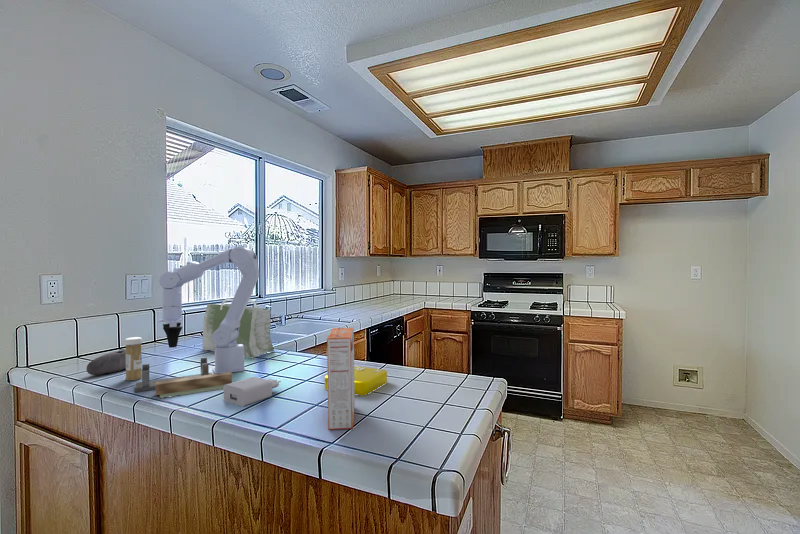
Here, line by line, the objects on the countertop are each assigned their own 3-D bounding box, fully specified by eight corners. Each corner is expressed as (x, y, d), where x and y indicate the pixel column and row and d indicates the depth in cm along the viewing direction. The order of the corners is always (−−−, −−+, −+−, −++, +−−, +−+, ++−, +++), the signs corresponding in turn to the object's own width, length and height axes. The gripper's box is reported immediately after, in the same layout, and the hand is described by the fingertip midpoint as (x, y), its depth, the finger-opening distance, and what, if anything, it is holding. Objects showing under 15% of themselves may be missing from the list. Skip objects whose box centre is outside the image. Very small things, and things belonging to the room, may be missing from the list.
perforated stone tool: (90, 379, 126) (90, 357, 126) (81, 377, 128) (81, 356, 128) (138, 368, 139) (138, 348, 139) (129, 366, 142) (129, 347, 142)
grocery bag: (277, 351, 166) (277, 298, 166) (250, 358, 153) (250, 300, 153) (228, 344, 181) (227, 295, 181) (200, 350, 169) (200, 297, 169)
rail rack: (211, 375, 130) (211, 356, 130) (214, 380, 124) (214, 360, 124) (136, 385, 118) (136, 364, 118) (135, 392, 112) (135, 370, 112)
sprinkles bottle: (142, 379, 125) (141, 338, 125) (124, 381, 123) (124, 339, 123) (142, 376, 129) (142, 336, 129) (125, 378, 126) (125, 337, 126)
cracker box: (331, 407, 100) (331, 327, 100) (355, 407, 100) (355, 326, 100) (325, 430, 86) (325, 337, 86) (353, 429, 86) (352, 336, 86)
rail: (230, 381, 122) (230, 371, 122) (232, 383, 119) (232, 373, 119) (155, 392, 111) (155, 382, 111) (155, 395, 108) (155, 384, 108)
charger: (289, 391, 113) (244, 407, 100) (268, 386, 118) (223, 401, 105) (288, 375, 113) (244, 389, 100) (268, 371, 118) (223, 383, 105)
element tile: (321, 391, 114) (321, 375, 114) (349, 377, 128) (349, 363, 128) (365, 398, 108) (365, 381, 108) (389, 383, 121) (389, 368, 121)
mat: (229, 380, 124) (229, 379, 124) (233, 387, 117) (233, 385, 117) (159, 390, 113) (159, 389, 113) (159, 398, 107) (159, 397, 107)
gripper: (158, 305, 137) (158, 343, 137) (158, 308, 125) (159, 350, 125) (181, 304, 141) (181, 340, 141) (183, 307, 129) (183, 347, 129)
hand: (172, 345), depth 133 cm, fingers open, 7 cm apart
